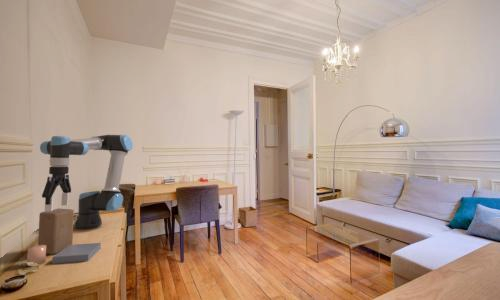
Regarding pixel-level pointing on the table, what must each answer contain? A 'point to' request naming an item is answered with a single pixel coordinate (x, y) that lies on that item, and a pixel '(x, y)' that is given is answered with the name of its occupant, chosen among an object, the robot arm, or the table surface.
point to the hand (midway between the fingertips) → (57, 208)
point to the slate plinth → (76, 253)
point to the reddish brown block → (37, 254)
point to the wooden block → (56, 229)
